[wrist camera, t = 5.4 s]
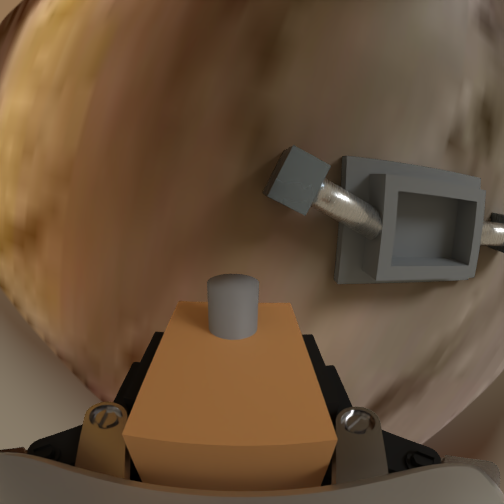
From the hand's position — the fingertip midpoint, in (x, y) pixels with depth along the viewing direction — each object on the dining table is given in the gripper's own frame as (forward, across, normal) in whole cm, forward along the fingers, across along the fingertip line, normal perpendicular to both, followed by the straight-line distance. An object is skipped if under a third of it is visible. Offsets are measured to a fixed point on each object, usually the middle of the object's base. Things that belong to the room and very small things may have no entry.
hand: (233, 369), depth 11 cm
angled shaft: (+16, -7, -5) cm, 18 cm away
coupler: (+1, 0, 0) cm, 1 cm away
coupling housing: (+16, -17, -4) cm, 23 cm away
